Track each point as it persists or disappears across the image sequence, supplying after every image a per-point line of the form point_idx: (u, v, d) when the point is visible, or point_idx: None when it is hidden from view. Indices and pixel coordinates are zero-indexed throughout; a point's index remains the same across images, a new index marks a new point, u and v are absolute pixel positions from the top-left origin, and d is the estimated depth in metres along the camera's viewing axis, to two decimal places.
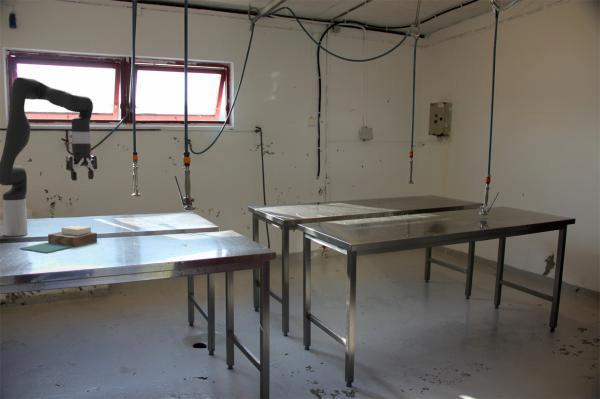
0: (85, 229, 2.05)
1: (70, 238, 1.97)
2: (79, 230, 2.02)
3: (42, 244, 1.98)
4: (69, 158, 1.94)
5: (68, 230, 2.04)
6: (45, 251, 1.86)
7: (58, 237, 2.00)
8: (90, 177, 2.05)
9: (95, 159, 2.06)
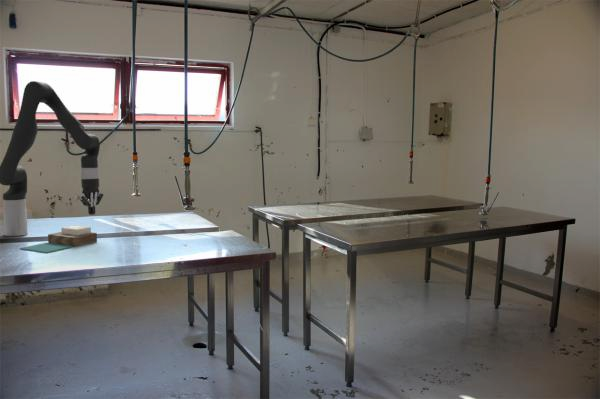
0: (85, 229, 2.05)
1: (70, 238, 1.97)
2: (79, 230, 2.02)
3: (42, 244, 1.98)
4: (81, 198, 2.09)
5: (68, 230, 2.04)
6: (45, 251, 1.86)
7: (58, 237, 2.00)
8: None
9: (101, 196, 2.18)
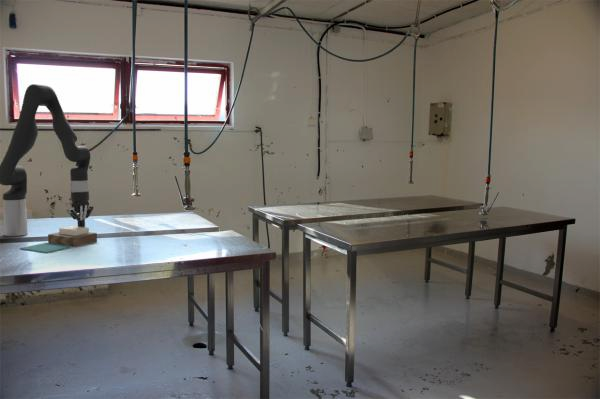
0: (83, 229, 2.04)
1: (70, 238, 1.97)
2: (77, 230, 2.01)
3: (42, 244, 1.98)
4: (71, 212, 2.04)
5: (66, 230, 2.02)
6: (45, 251, 1.86)
7: (58, 237, 2.00)
8: (82, 226, 2.10)
9: (91, 209, 2.13)
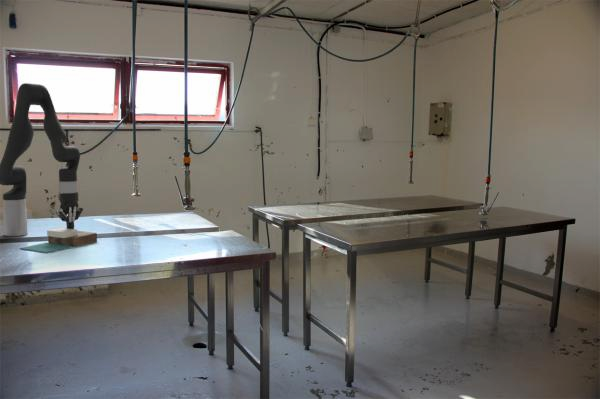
0: (71, 232, 1.99)
1: (70, 238, 1.97)
2: (65, 233, 1.96)
3: (42, 244, 1.98)
4: (59, 213, 1.98)
5: (54, 233, 1.97)
6: (45, 251, 1.86)
7: (58, 237, 2.00)
8: (71, 228, 2.05)
9: (80, 211, 2.08)
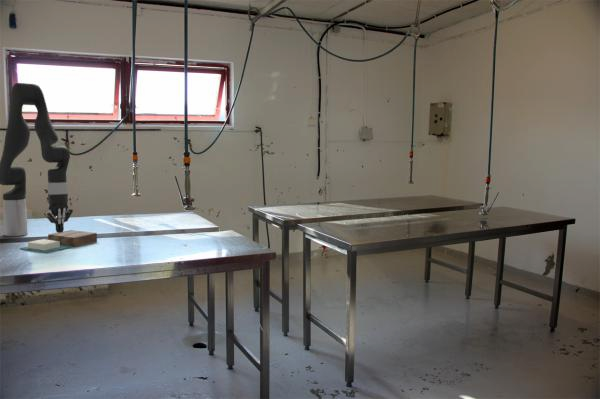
0: (51, 247, 1.90)
1: (70, 238, 1.97)
2: (57, 246, 1.93)
3: None
4: (48, 215, 1.93)
5: None
6: (45, 251, 1.86)
7: (58, 237, 2.00)
8: None
9: (70, 212, 2.03)
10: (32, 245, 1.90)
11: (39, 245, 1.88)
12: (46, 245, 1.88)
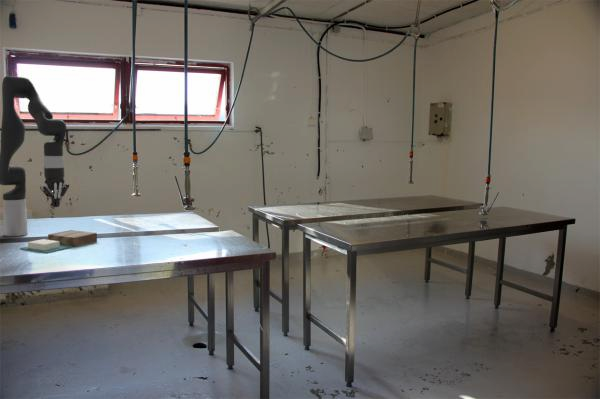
0: (51, 247, 1.90)
1: (70, 238, 1.97)
2: (57, 246, 1.93)
3: None
4: (43, 189, 1.91)
5: None
6: (45, 251, 1.86)
7: (58, 237, 2.00)
8: None
9: (66, 187, 2.00)
10: (32, 245, 1.90)
11: (39, 245, 1.88)
12: (46, 245, 1.88)
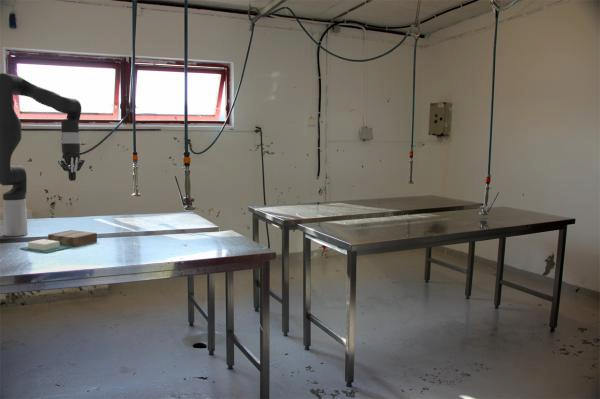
0: (51, 247, 1.90)
1: (70, 238, 1.97)
2: (57, 246, 1.93)
3: None
4: (61, 163, 2.05)
5: None
6: (45, 251, 1.86)
7: (58, 237, 2.00)
8: None
9: (82, 162, 2.14)
10: (32, 245, 1.90)
11: (39, 245, 1.88)
12: (46, 245, 1.88)
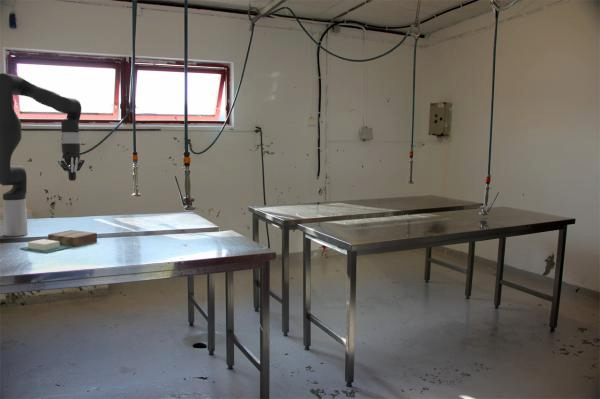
0: (51, 247, 1.90)
1: (70, 238, 1.97)
2: (57, 246, 1.93)
3: None
4: (61, 163, 2.05)
5: None
6: (45, 251, 1.86)
7: (58, 237, 2.00)
8: None
9: (82, 162, 2.14)
10: (32, 245, 1.90)
11: (39, 245, 1.88)
12: (46, 245, 1.88)
